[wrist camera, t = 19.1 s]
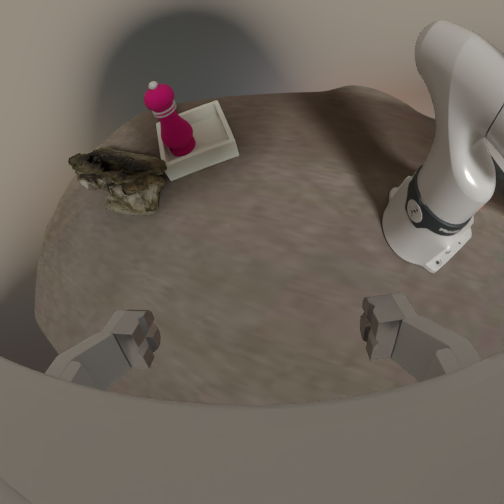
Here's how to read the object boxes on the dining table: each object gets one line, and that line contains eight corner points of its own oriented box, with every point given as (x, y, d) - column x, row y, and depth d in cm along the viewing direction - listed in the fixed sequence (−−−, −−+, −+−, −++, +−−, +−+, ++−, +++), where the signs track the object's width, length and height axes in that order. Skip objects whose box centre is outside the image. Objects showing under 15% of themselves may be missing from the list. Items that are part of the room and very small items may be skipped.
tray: (221, 114, 62) (217, 100, 58) (239, 155, 57) (235, 140, 52) (163, 136, 62) (155, 123, 58) (170, 181, 57) (162, 168, 52)
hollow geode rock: (103, 185, 66) (58, 197, 54) (107, 141, 60) (58, 147, 48) (171, 220, 57) (117, 242, 45) (180, 164, 51) (120, 174, 39)
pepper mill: (163, 151, 59) (127, 90, 40) (185, 132, 60) (156, 69, 42) (181, 163, 57) (145, 97, 38) (204, 142, 58) (177, 74, 39)
